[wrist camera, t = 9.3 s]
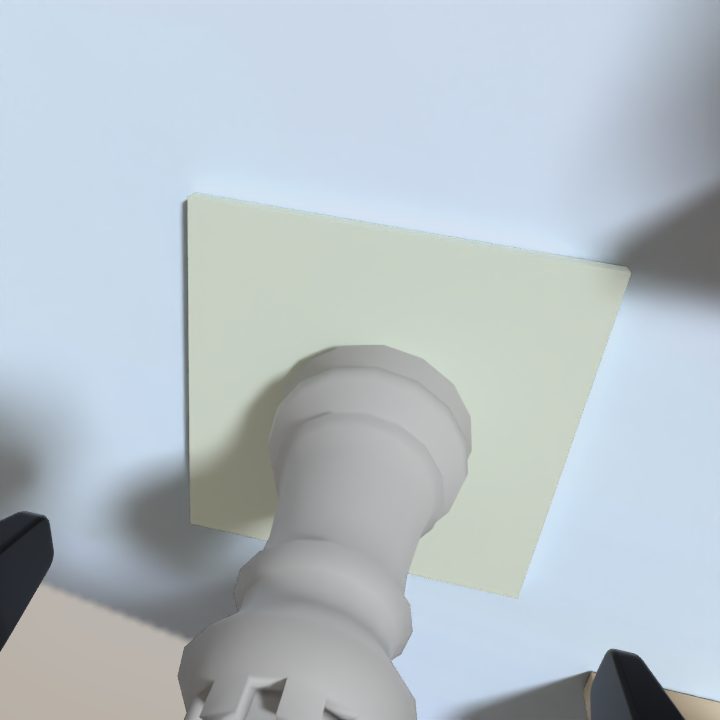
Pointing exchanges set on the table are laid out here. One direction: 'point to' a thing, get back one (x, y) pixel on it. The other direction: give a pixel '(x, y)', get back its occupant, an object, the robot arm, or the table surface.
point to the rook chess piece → (336, 545)
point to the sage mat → (402, 332)
